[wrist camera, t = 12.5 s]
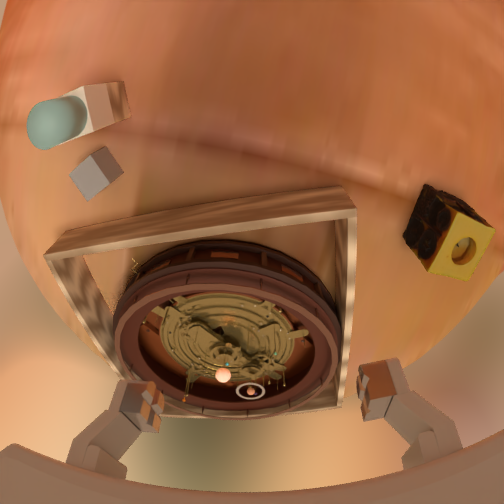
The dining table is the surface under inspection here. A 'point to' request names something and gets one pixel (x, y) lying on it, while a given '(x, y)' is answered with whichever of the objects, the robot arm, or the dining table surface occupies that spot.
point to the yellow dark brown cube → (447, 234)
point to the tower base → (118, 101)
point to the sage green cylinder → (56, 121)
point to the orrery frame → (200, 225)
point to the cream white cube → (94, 107)
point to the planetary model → (228, 328)
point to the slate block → (96, 173)
